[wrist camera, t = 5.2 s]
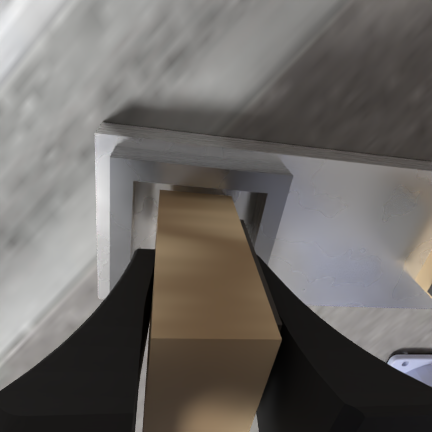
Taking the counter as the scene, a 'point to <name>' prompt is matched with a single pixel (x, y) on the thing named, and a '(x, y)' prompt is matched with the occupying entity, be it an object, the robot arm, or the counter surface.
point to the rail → (275, 210)
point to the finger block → (207, 319)
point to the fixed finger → (426, 276)
